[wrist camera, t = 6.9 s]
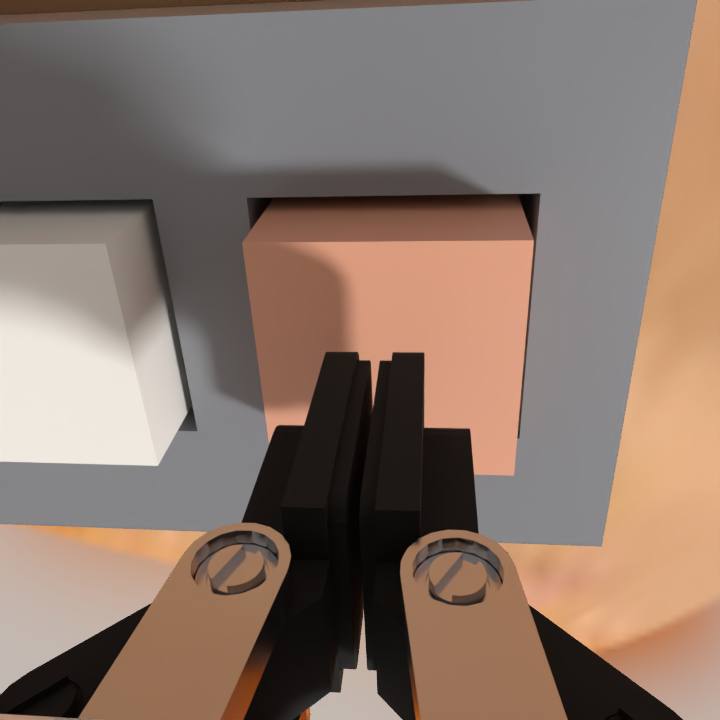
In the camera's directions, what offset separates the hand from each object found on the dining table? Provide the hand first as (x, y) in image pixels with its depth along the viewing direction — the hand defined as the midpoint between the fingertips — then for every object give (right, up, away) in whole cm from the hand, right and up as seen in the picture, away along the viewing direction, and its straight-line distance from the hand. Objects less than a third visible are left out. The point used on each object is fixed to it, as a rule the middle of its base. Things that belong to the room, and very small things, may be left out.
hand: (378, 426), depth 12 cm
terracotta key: (+1, +3, +4) cm, 5 cm away
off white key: (-7, +3, +5) cm, 9 cm away
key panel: (-7, +4, +7) cm, 11 cm away
